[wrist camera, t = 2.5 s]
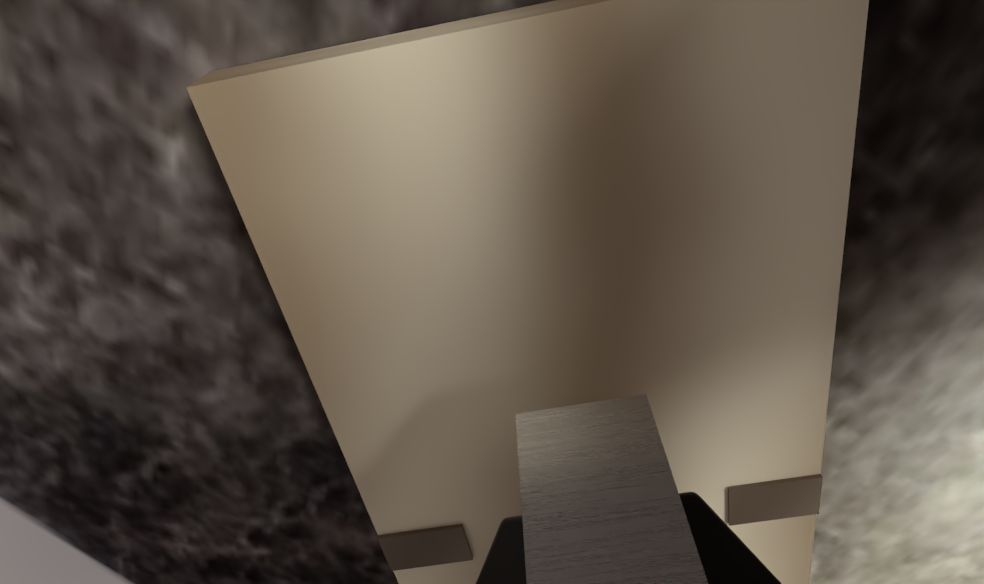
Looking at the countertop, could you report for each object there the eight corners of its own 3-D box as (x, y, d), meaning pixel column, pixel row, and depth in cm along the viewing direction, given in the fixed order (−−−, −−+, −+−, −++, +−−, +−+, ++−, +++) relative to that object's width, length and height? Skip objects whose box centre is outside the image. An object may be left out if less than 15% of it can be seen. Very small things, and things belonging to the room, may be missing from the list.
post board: (840, -59, 10) (966, -41, 7) (781, 699, 21) (822, 810, 19) (209, 71, 11) (123, 128, 8) (477, 733, 22) (476, 843, 19)
